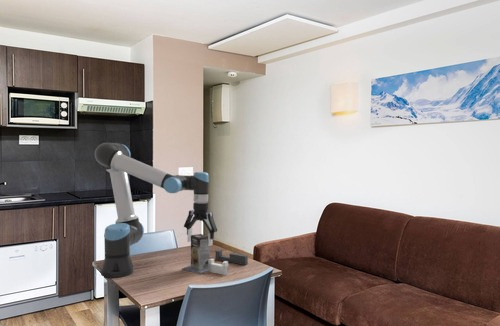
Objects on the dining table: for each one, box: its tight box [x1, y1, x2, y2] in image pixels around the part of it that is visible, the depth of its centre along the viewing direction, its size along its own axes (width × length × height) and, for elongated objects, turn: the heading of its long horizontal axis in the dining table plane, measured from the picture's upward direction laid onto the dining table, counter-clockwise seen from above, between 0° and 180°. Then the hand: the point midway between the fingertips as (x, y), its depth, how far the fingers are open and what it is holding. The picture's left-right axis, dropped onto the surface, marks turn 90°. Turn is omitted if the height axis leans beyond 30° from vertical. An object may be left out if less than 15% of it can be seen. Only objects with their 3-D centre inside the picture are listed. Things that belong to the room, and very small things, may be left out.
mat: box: [181, 264, 209, 275], centre depth 191 cm, size 13×13×1 cm
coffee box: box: [190, 233, 211, 270], centre depth 191 cm, size 9×6×16 cm
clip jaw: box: [208, 258, 229, 276], centre depth 184 cm, size 10×2×6 cm, turn 59°
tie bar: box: [215, 249, 249, 266], centre depth 202 cm, size 19×3×5 cm, turn 59°
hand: (199, 243), depth 192 cm, fingers open, 13 cm apart
